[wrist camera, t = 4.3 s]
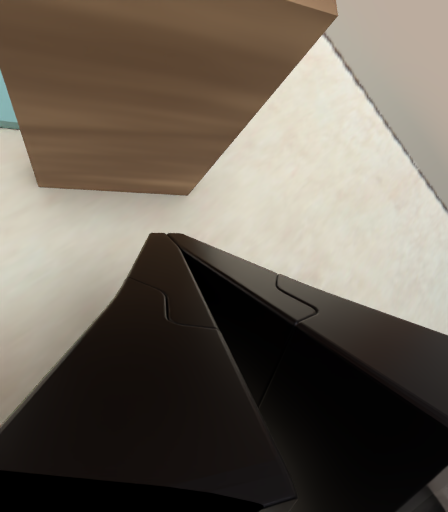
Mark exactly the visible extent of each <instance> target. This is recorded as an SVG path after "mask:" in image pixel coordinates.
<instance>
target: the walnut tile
mask: <svg viewBox="0 0 448 512" xmlns="http://www.w3.org/2000/svg"><path fill="white" fill-rule="evenodd" d="M337 16H338V13H337V5H336V0H0V70H1V73H2V76H3V79H4V82H5V85H6V88H7V91H8V94H9V97H10V100H11V103H12V107H13V110H14V113H15V116H16V119H17V122H18V125H19V128H20V131H21V134H22V137H23V140H24V143H25V146H26V149H27V152H28V156H29V159H30V162H31V165H32V168H33V171H34V174H35V177H36V180H37V183H38V186H39V187H48V188H66V189H83V190H101V191H118V192H136V193H154V194H171V195H188V194H189V193H190V192H191V191H192V190H193V188H194V187H195V186H196V185H197V184H198V182H199V181H200V180H201V179H202V178H203V177H204V175H205V174H206V173H207V172H208V171H209V169H210V168H211V167H212V166H213V165H214V163H215V162H216V161H217V160H218V159H219V157H220V156H221V155H222V154H223V153H224V151H225V150H226V149H227V148H228V147H229V145H230V144H231V143H232V142H233V141H234V139H235V138H236V137H237V136H238V135H239V133H240V132H241V131H242V130H243V129H244V128H245V126H246V125H247V124H248V123H249V122H250V120H251V119H252V118H253V117H254V116H255V114H256V113H257V112H258V111H259V110H260V108H261V107H262V106H263V105H264V104H265V102H266V101H267V100H268V99H269V98H270V96H271V95H272V94H273V93H274V92H275V90H276V89H277V88H278V87H279V86H280V84H281V83H282V82H283V81H284V80H285V79H286V77H287V76H288V75H289V74H290V73H291V71H292V70H293V69H294V68H295V67H296V65H297V64H298V63H299V62H300V61H301V59H302V58H303V57H304V56H305V55H306V53H307V52H308V51H309V50H310V49H311V47H312V46H313V45H314V44H315V43H316V41H317V40H318V39H319V38H320V37H321V35H322V34H323V33H324V32H325V31H326V30H327V28H328V27H329V26H330V25H331V24H332V22H333V21H334V20H335V19H336V17H337Z"/></svg>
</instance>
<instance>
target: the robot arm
mask: <svg viewBox="0 0 448 512" xmlns="http://www.w3.org/2000/svg"><path fill="white" fill-rule="evenodd" d="M0 512H448V335H445V334H442V333H440V332H437V331H434V330H431V329H428V328H425V327H423V326H420V325H417V324H414V323H411V322H409V321H406V320H403V319H400V318H397V317H395V316H392V315H389V314H386V313H383V312H381V311H378V310H375V309H372V308H369V307H366V306H364V305H361V304H358V303H355V302H352V301H350V300H347V299H344V298H341V297H338V296H336V295H333V294H330V293H327V292H325V291H322V290H319V289H317V288H314V287H311V286H309V285H306V284H304V283H301V282H299V281H296V280H294V279H291V278H289V277H286V276H284V275H281V274H278V276H277V273H275V272H273V271H270V270H268V269H266V268H263V267H261V266H258V265H256V264H254V263H251V262H249V261H246V260H244V259H242V258H239V257H237V256H234V255H232V254H230V253H227V252H225V251H222V250H220V249H217V248H215V247H213V246H210V245H208V244H205V243H203V242H201V241H198V240H196V239H193V238H191V237H189V236H186V235H184V234H180V233H168V234H167V235H166V234H165V233H150V234H149V236H148V238H147V240H146V242H145V244H144V245H143V247H142V249H141V251H140V253H139V255H138V257H137V259H136V261H135V263H134V264H133V266H132V268H131V270H130V272H129V274H128V276H127V278H126V279H125V281H124V283H123V284H122V286H121V288H120V290H119V291H118V293H117V294H116V296H115V297H114V299H113V300H112V301H111V302H110V304H109V305H108V306H107V307H106V309H105V310H104V311H103V312H102V313H101V314H100V315H99V316H98V318H97V319H96V320H95V321H94V322H93V323H92V324H91V325H90V327H89V328H88V329H87V330H86V331H85V332H84V333H83V334H82V335H81V337H80V338H79V339H78V340H77V341H76V342H75V343H74V344H73V346H72V347H71V348H70V349H69V350H68V351H67V352H66V353H65V355H64V356H63V357H62V358H61V359H60V360H59V361H58V362H57V363H56V365H55V366H54V367H53V368H52V369H51V370H50V371H49V372H48V374H47V375H46V376H45V377H44V378H43V379H42V380H41V381H40V382H39V384H38V385H37V386H36V387H35V388H34V389H33V390H32V391H31V393H30V394H29V395H28V396H27V397H26V398H25V399H24V400H23V402H22V403H21V404H20V405H19V406H18V407H17V408H16V409H15V410H14V412H13V413H12V414H11V415H10V416H9V417H8V418H7V419H6V421H5V422H4V423H3V424H2V425H1V426H0Z"/></svg>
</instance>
